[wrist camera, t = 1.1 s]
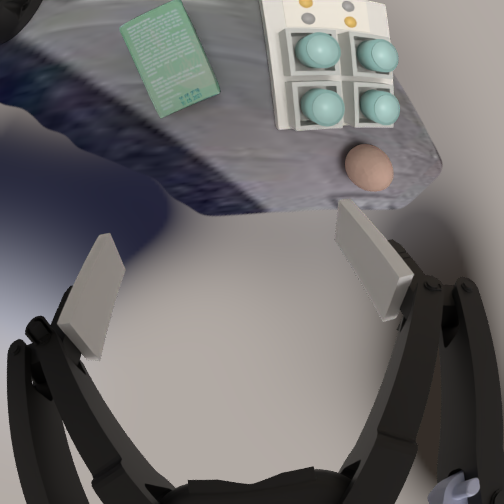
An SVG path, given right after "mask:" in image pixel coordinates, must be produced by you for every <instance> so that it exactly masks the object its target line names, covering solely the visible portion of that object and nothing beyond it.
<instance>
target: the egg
mask: <svg viewBox="0 0 504 504" xmlns="http://www.w3.org/2000/svg"><path fill="white" fill-rule="evenodd" d="M345 168H346V172H347V175H348V177H349V178H350V180H351V181H352V182H353V183H354V184H355V185H357V186H358V187H359V188H362V189H364V190H367V191H381V190H384V189H386V188H387V187H388V186H389V185H390V183H391V182H392V179H393V167H392V164H391V162H390V159H389V158H388V156H387V155H386V154H385V153H384V152H383V151H382V150H380V149H379V148H377V147H375V146H373V145H369V144H361V145H358V146H356V147H354V148H352V149H351V150H350V151H349V153H348V154H347V156H346V160H345Z"/></svg>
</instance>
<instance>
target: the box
mask: <svg viewBox="0 0 504 504" xmlns="http://www.w3.org/2000/svg"><path fill="white" fill-rule="evenodd" d="M120 32H121V34H122V36H123V38H124V40H125V43H126V45H127V47H128V49H129V51H130V54H131V56H132V58H133V60H134V63H135V65H136V67H137V69H138V72H139V74H140V76H141V78H142V81H143V83H144V85H145V87H146V90H147V92H148V94H149V96H150V99H151V101H152V103H153V105H154V107H155V109H156V111H157V113H158V115H159V116H160V118H163V117H165V116H168V115H170V114H172V113H174V112H176V111H178V110H181V109H183V108H185V107H188V106H190V105H192V104H195V103H197V102H199V101H202V100H204V99H207V98H209V97H212V96H215V95H217V94H220V87H219V84H218V81H217V79H216V77H215V74H214V72H213V70H212V67H211V65H210V63H209V60H208V58H207V56H206V54H205V51H204V49H203V47H202V45H201V42H200V40H199V38H198V36H197V33H196V31H195V29H194V27H193V25H192V23H191V21H190V19H189V17H188V15H187V13H186V10H185V8H184V7H183V4H182V1H181V0H173V1H170V2H168V3H166V4H164V5H161V6H159V7H157V8H155V9H152V10H150V11H148V12H146V13H144V14H142V15H140V16H138V17H136V18H134V19H132V20H131V21H129V22H127V23H125V24H123V25H122V26H121V27H120Z"/></svg>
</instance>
